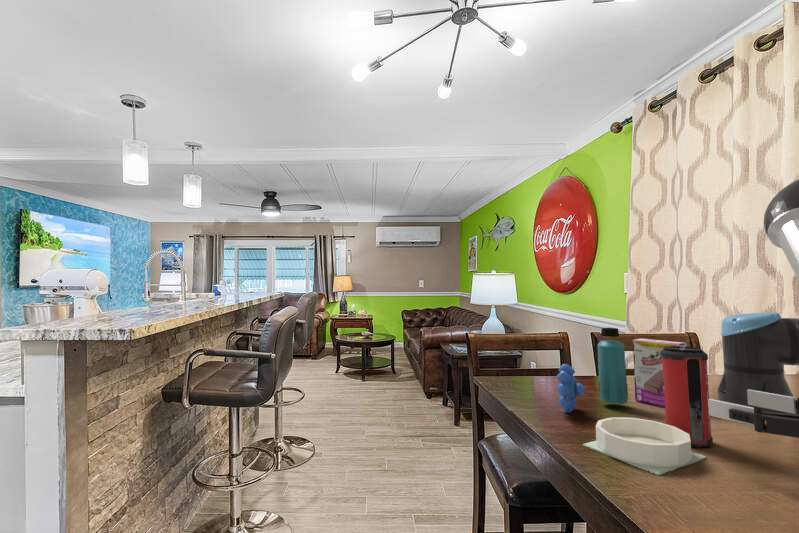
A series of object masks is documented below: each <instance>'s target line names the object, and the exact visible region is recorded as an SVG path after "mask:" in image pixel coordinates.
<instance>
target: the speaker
mask: <svg viewBox="0 0 799 533" xmlns="http://www.w3.org/2000/svg"><path fill="white" fill-rule="evenodd" d="M660 353H661V357H662V367H663V376H664V395H665V407H664V409H665V410H664V411H665V412H664V413H665V415H664V420H665V421H664V422H665V423H664V424H667V425H671V426H674V427H677V428H679V429H680V430H682V431H684V432H686V433H688V434H689V435H690V440H691V448H695V449H696V448H697V449H701V448H704V447H706V448H709V447H710V446H712V445H713V444H714V440H713V436H712V425H711V423H712V422H711V416H709V408H708V399H710V393H709V392H710V391H709V390H710V388H709V373H708V372H709V371H708V360H709V355H708V354H707V352H706V351H703V349H702V348H697V347H691V346H687V347H678V346H670V347H665V348H664V349H663V350H661V351H660Z"/></svg>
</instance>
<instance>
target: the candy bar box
mask: <svg viewBox="0 0 799 533" xmlns="http://www.w3.org/2000/svg"><path fill="white" fill-rule="evenodd" d="M670 346H678V347H688V343H686V342H680V341H671V340H670V341H669V340H660V339H651V338H650V339H649V338H637V339H633V340H632V348H633V349H632V350H633V351H632V352H633V355H632V356H633V374H634V375H633V377H634V400H635V402H638V403H643V404H648V405H652V406H656V405H657V407H662V408H665V395H664V376H663V367H662V357H661V353H660V351H661V350H663V349H664V348H665V347H670Z"/></svg>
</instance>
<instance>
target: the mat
mask: <svg viewBox="0 0 799 533" xmlns="http://www.w3.org/2000/svg"><path fill="white" fill-rule="evenodd" d="M582 446H583V447H586V448H587V449H590V450H593V451H596V452H598V453H601V454H602V455H606V456H608V457H611V458H613V459H615V460H618V461H621V462H623V463H626V464H628V465H631V466H634V467H635V468H639V469H641V470H643V471H646V472H648V471H649V473H651V474H653V473H654V474H653V475H656V476H662V475H665V474H666V472H667V473H670V472H672V471H675V470H678V469H681V468H683V467H686V466H689V465H691V464H696V463H697V462H701V461H703V460H705V459H707V456H705V455H703V454H700V453H696V452H692V451H691V456H692V459H691V462H690V463H689V464H687V465H685V466H681V468H680V467H672V468H664V467H652V466H645V465H639V464H635V463H631V462H627V461H624V460H621V459H618V458H615V457H613V456H611V455H609V454H607V453H605V452H604V451H602V450H601V449H600V448H599V447H598V444H597V442H596V440H594V441H590V442H585V443H582ZM677 468H678V469H677ZM669 471H670V472H669Z"/></svg>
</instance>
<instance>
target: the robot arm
mask: <svg viewBox="0 0 799 533" xmlns="http://www.w3.org/2000/svg"><path fill="white" fill-rule="evenodd" d="M763 227H764V231H765V234H766V236H767V238H768V240H769V241H770V242H771V244H772V245H773V246H775V247H777V248H779V249H781V250H782V251H783V253H784V256H785V257H786V259H787V261H788V263H789V265H790V267H791V269H792V271H793V272H794V276H796V279H797V280H798V281H799V178H798V179H796V180H793V181H792V182H791V183H789V184H788V185H787V186H785V187H783V188H781V190H779V192H777V193H776V194H775V195H774V197H773V198H772V199H771V201H770V202H769V204H768V205H767V207H766V210H765V212H764V216H763ZM720 335H721V339H722V340H721V342H722V355H723V356H722V359H723V374H722V376H721V379H720V381H719V385H718V388H717V391H716V396H717V399H713V398H709V399H708V408H709V416H710V417H714V418H719V419H723V420H726V421H727V420H728V421H731V422H734V423H739V424H744V425H748V426H752V427H754V431H755V432H757V433H765V434H769V435H770V434H772V435H778V436H784V437H791V438H796V439H797V438H798V439H799V397H797V398H796V397H795V396H794V393H793V392H792V390H791V387H790V386H789V384H788V381H787V379H786V378H785V369H784V368H785V365H786V366H797V367H798V366H799V316H797V318H796V317H786V318H785V317H782V315H781V314H780V313H779V312H775V311H773V312H771V311H769V312H755V313H754V312H753V313H741V314H733V315H728V316H725V317H723V319H722V320H721V332H720Z"/></svg>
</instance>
